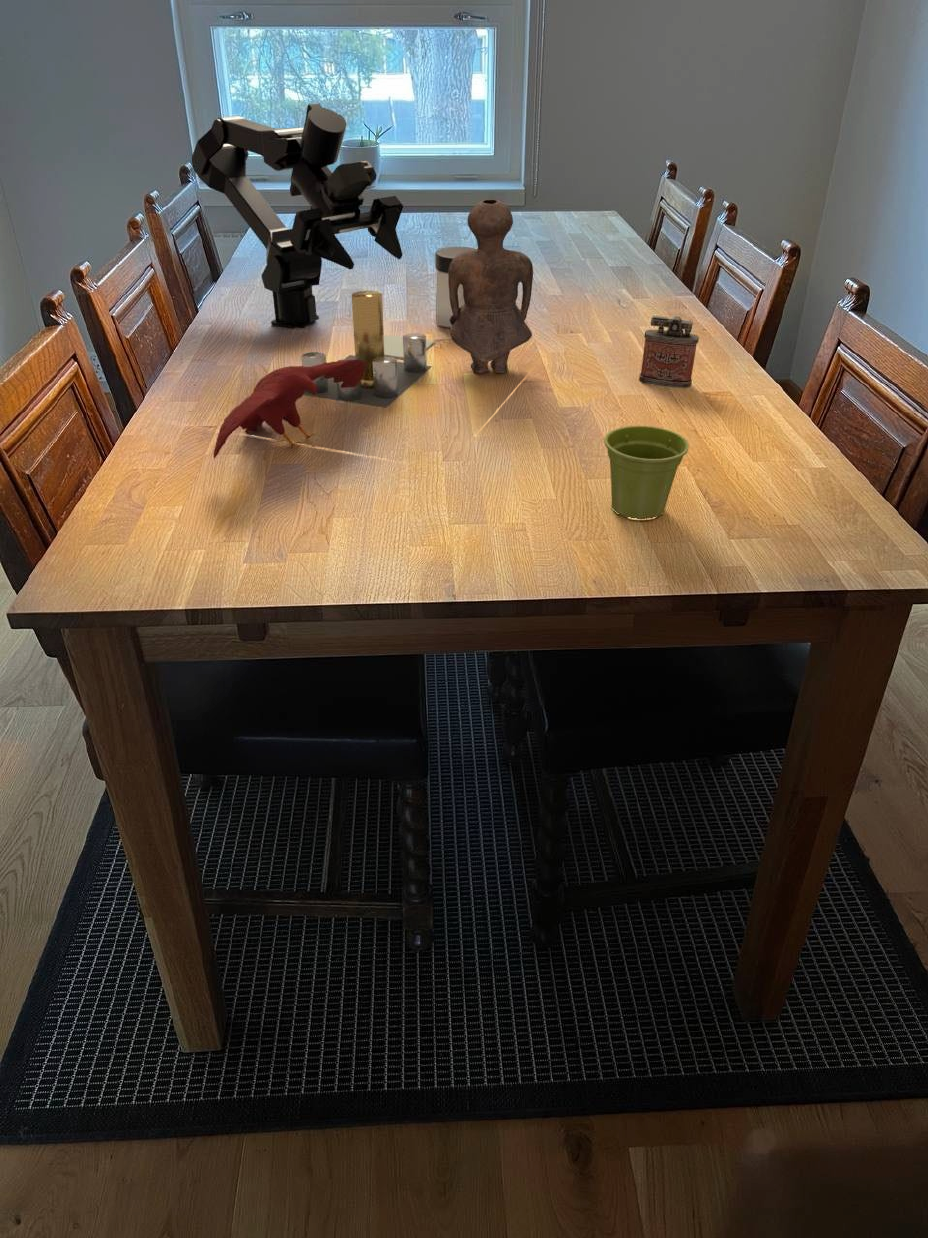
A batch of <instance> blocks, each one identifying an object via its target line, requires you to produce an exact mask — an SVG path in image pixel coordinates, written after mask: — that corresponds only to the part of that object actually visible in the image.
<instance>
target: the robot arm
mask: <svg viewBox="0 0 928 1238" xmlns="http://www.w3.org/2000/svg"><path fill="white" fill-rule="evenodd" d="M305 113H306V114H305V120H304V126H302V127H290V128H289V127H284V128H275V127H272V126H271V127H270V126H268V125H266V124H262V123H259V122H256V121H251V120H249V119H246V118H245V117H243V116H242V117H241V116H240V115H232V116H222V117H218V118H217V119H214V121H213V122H212V125H211V128H209V129H208V130H207V132H206V133H205V134H203V136H201V137H200V139H198V140H197V142H196V144H195V147H194V150H193V153H192V155H191V164H192V169H193V170H194V171H193V172H194V173H195V174H196V175H197V177H198V179H200V180H201V181H202V183H204V184H205V185H206V186H207V188H209V189H211V190H213V191H215V192H218V193H220V194H223V195H225V197H226V198H227V199H228V201H229V202H230V203H231V205H232V206H233V207H234V208H235V210H236V211H237V212H238V213H239V215H240V216H241V218H242V219H243V220H244V221H245V223H246V224H247V225H248V227H249V228H250V229H251V231H252V232H253V234H255V236H256V237H257V239H258V240H259V241H260V242H261V243H262V245H263V246H264V248H265V249H266V250H265V251H266V261H265V262H266V265H265V268H264V270H263V272H262V274H261V280H262V284H263V286H264V289H265V290H267V291H271V293H272V301H273V308H274V309H273V310H274V317H275V318H274V319H273V320H271V321H270V324H271V325H272V326H280V327H285V328H292V329H294V328H297V329H304V328H306V327H307V326H309V325H311V324H313V323H314V322H315V321H317V320H319V319H320V316H319V315H317V305H316V304H317V303H316V296H315V294H314V295H313V287H314V286H319V285H320V279H321V273H322V268H323V267H322V265H323V260H322V259H324V260H328V261H329V262H331V263H335V264H337V265H339V266H341V267H343V268H346V269H349V270H353V269H354V267H355V262H354V261H353V259H352V257H351V256H350V254H349V253H348V251H347V250H346V249H345V247H344V246H343V245H342V243H341V242H340V241H339V239H338V238H337V236H336V235H339V234H344V233H349V232H353V231H359V230H364V229H367V231H368V233H369V235H371V236H372V237H374V242H375V243H376V244H378V245H379V246H380V247H381V248H383V249H384V250H385V251H386V252H387V253H389V254H390V255H391V256H393V257H394V258H396V259H397V260H401V259H402V258H403V250H402V247H401V244H400V241H399V237H398V234H397V226H398V223H399V220H400V217H401V215H402V211H403V208H404V205H403V204H402V202H401V201H400V199H398V197H397V196H396V195H393V196H392V195H391V196H385V197H380V198H374V199H373V201H372V204H371V207H370V210H369V211H366V212H365V211H363V212H361V208H360V206H362V205H363V204H364V200H365V198H364V196H363V195H362V194H363V192H365V190H366V189H367V188H368V187H371V186H372V185H373V183H374V182H375V181H376V179H377V173H376V171H375V168H374V167H373V165H372V164H371V163H370V162H369V161H368V160H360V161H355V162H347V163H341V164H339V165H337V166H336V167H335V169H334V170H333V171H331V170H330V169H329V167H328V166H330V165H334V164H335V163H337V162H338V159H339V155H340V152H341V148H342V144H343V141H344V136H345V133H346V128H347V122H346V119H345V118H344V116H342V115H341V114H339V113H337V112H336V111H334V110H332V109H329V108H325V107H323V106H322V105H321V104H320V103H309V104H307V107H306V111H305ZM249 153H254V154H257V155H259V156H261V157H263V162H264V164H265V165H267V166H269V167H270V168H271V169H273V170H274V171H276V172H281V171H290V170H291V176H290V186H289V192H290V196H291V197H297V196H303V198H304V199H305V200H306V202H307V203H308V204H309V206H310V209H304V210H299V211H296V212H295V214H294V215H295V216H294V219H293V223H292V227H291V228H288V227H287V226H286V225H285V224H284V222H283V221H282V219H281V218H280V217H279V216H278V214H277V213H276V211H274V210H273V208H272V207H271V206H270V204H269V203H268V202H267V200H266V199H265V198H264V197H263V196H262V194H261V193H260V192H259V190H258V189H257V188H256V186H254V183H252V181H251V180H250V179H249V177H248V176H247V175H246V170H247V167H246V166H247V159H248V157H249V155H250V154H249Z"/></svg>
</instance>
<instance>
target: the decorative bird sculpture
mask: <svg viewBox="0 0 928 1238" xmlns="http://www.w3.org/2000/svg"><path fill="white" fill-rule="evenodd" d="M341 360H342V359H341ZM366 366H367V363H366V362H364V361H362V360H342V361H339V360H337V361H330V362H326V363H324V364H320V365H316V366H311V367H305V366H302V365H297V366H296V365H295V366H294V365H291V366H285V367H281V368H278V369H277V368H276V369H275V370H273V371H271V372H269V373H267V374H266V375H264V377H262V378H260V379H259V381H258V382H257V383H256V385H255V387H254V388H253V392H252V393H251V395H249V396H247V397H246V398H245V399H244V400H243V401H241V402H240V404H238V405H237V406H236V407H235V408H233V409H232V410H231V411H230V413H229V414H227V416H226V417H225V418H224V420H223V423H222V424H221V426H220V428H219V431H218V435H217V439H216V443H215V446H214V450H213V459H214V460H215V459H216V458H217V456H218V455H219V453H220V450H221V449H222V448H223V446H225V443H226V442H227V439H228V438H229V437H230V436H231V435H232V434H233V433H234V432H235V431H236V430H237V429H238V428H239V427H240V428H241V429H242V430H244V433H246V434H248V433H250V432H251V431H255V430H256V429H257V428H259V427H262V426H263V424H264V422H265V424H266V425H268V427H270V428H271V429H272V430H273V432H275V433H276V434H277V435H279V436H281V435H282V436H283V438H285V440H286V441H288V443H289V444H290V448H291V449H293V447H295V446H296V445H297V444H299V443H301V442H300V441H297V442H295V443H293V441H292V440H291V439H290V438H289V437H288V435H287V434H286V430H285V426H284V424H283V421H285V422H287V423H288V424H289V425H290V426H291V427H293V428H298V429H299V431H300V432H302V433H303V435H304V437H305V440H307V439H309V438H310V437H313V436H314V435H316V434H314V433H311V434H310V435H308V434H307V432H306V430H304V429H303V428H302V426H301V422H302V421H301V417H300V415H299V411H298V410H297V404H296V402H297V401H298V400H299V399H300V398H302V397H303V396H304V395H303V394H304V392H305V391H306V390H308V391H310V392H311V393H312V394H313V395H315V396H317V387H316V385H315V384H314V382H313V380H315V379H317V378H319V377H321V376H323V375H324V378H326V379H329V378H334V381H333V382H334V383H338V382H343V383H342V385H341V388H346V387H355V386H356V385H357V384H358V383H359V381H360V380H361V378H362V376H363V374H364V371H365V368H366Z"/></svg>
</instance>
